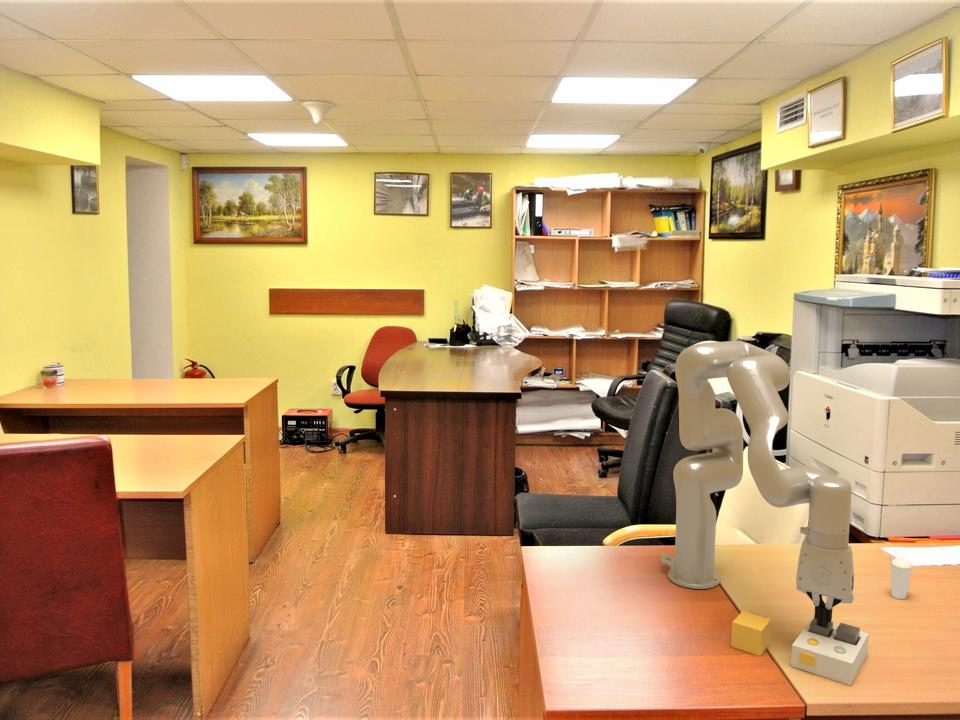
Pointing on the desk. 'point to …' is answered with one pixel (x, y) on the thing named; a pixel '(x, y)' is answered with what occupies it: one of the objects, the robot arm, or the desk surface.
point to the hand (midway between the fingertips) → (822, 623)
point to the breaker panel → (829, 655)
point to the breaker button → (847, 634)
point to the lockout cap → (751, 633)
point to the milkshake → (900, 577)
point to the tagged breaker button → (821, 628)
